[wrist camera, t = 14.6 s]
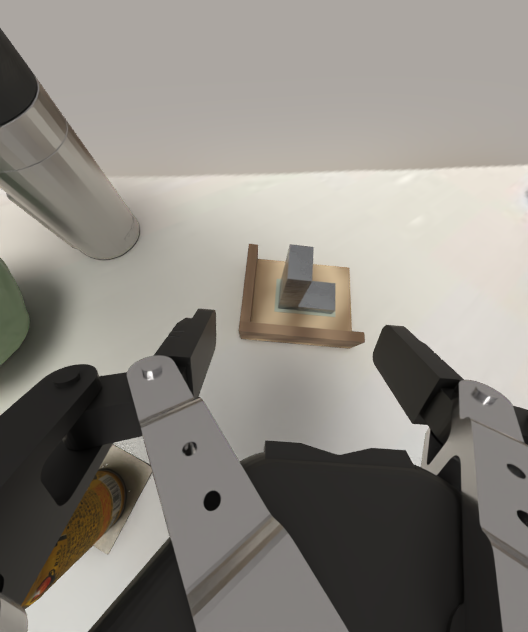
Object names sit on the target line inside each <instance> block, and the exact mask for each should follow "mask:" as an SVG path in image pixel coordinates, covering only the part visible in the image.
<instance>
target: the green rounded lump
mask: <svg viewBox="0 0 528 632" xmlns="http://www.w3.org/2000/svg"><path fill="white" fill-rule="evenodd" d="M29 323H30V319H29V315H28V312H27V310H26V307H25V304H24V300H23V297H22V294H21V292H20V290H19V288H18V286H17V284H16V282H15V280H14V278H13V276H12V275H11V273H10V271H9V269H8V267H7V266H6V264H5V263H4V261H3V260H2V259H1V258H0V365H1V364H3V363H4V362H5V361H6V360H7V359H8V358H9V357H10V356H11V355H12V354H13V353H14V352H15V351H16V350H17V349H18V348H19V347H20V346H21V343H22V342H23V340H24V339H25V338H26V335H27V332H28V329H29Z"/></svg>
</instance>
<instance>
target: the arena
mask: <svg viewBox="0 0 528 632" xmlns="http://www.w3.org/2000/svg"><path fill="white" fill-rule="evenodd" d="M284 266H285V262H284V261H273V260H263V259H257V269H256V279H255V289H254V298H253V308H252V318H251V322H254V323H265V324H276V325H287V326H298V327H309V328H320V329H331V330H342V331H352V326H351V300H350V274H349V268H347V267H336V266H326V265H315V264H313V274H312V281H319V282H328V283H335V311H334V312H333V313H332V314H326V313H317V312H308V311H298V310H289V309H279V308H278V303H279V291H280V281H281V277H282V273H283V269H284ZM240 338H241V339H249V340H261V341H272V342H283V343H294V344H306V345H317V346H328V347H339V348H352V347H345V346H333V345H322V344H311V343H300V342H288V341H277V340H266V339H255V338H244V337H240Z"/></svg>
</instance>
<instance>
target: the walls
mask: <svg viewBox="0 0 528 632" xmlns="http://www.w3.org/2000/svg"><path fill="white" fill-rule="evenodd" d="M257 259H258V245H255V244H249V248H248V257H247V265H246V274H245V282H244V291H243V299H242V308H241V316H240V324H239V334H240V337H244V338H255V339H266V340H277V341H288V342H300V343H311V344H322V345H333V346H345V347H354V346H357V345H359V344H362V343H364V342H365V337H364V332H353V331H342V330H331V329H320V328H309V327H298V326H287V325H276V324H265V323H254V322H251V318H252V308H253V298H254V289H255V279H256V269H257Z"/></svg>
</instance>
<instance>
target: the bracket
mask: <svg viewBox="0 0 528 632" xmlns="http://www.w3.org/2000/svg"><path fill="white" fill-rule="evenodd" d="M312 274H313V247H308V246H299V245H290V246H289V250H288V254H287V258H286V262H285V266H284V269H283V273H282V277H281V281H280V291H279V303H278V308H279V309H289V310H298V311H308V312H317V313H326V314H332V313H333V312H334V311H335V283H328V282H319V281H312Z"/></svg>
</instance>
